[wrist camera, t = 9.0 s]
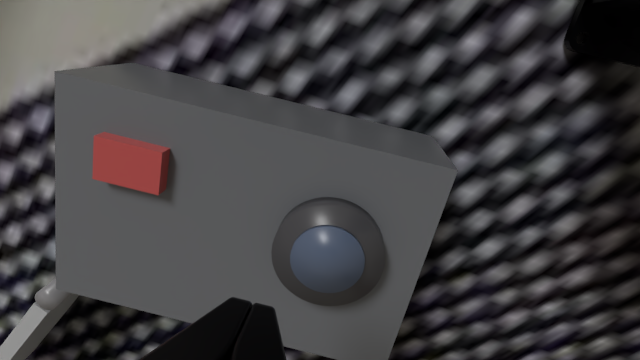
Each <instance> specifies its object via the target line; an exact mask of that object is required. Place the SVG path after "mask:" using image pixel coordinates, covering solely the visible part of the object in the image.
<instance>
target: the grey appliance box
mask: <svg viewBox="0 0 640 360" xmlns="http://www.w3.org/2000/svg"><path fill="white" fill-rule="evenodd" d="M457 172H458V170H457V168H456V167H455V166H454V164H453V163H452V162H451V160H450V159H449V158H448V156H447V155H446V154H445V153H444V151H443V150H442V149H441V147H440V146H439V145H438V143H437V142H436V141H435V139H434V138H433V137H432V136H429V135H425V134H421V133H417V132H413V131H409V130H405V129H401V128H397V127H392V126H388V125H384V124H380V123H376V122H372V121H368V120H364V119H360V118H356V117H352V116H348V115H344V114H339V113H335V112H331V111H327V110H323V109H319V108H315V107H311V106H307V105H303V104H299V103H295V102H290V101H286V100H282V99H278V98H274V97H270V96H266V95H262V94H258V93H254V92H250V91H246V90H242V89H237V88H233V87H229V86H225V85H221V84H217V83H213V82H209V81H205V80H201V79H197V78H193V77H188V76H184V75H180V74H176V73H172V72H168V71H164V70H160V69H156V68H152V67H148V66H144V65H139V64H135V63H127V64H118V65H109V66H99V67H90V68H80V69H71V70H62V71H55V210H56V289H57V290H61V291H65V292H69V293H73V294H77V295H81V296H85V297H89V298H93V299H97V300H101V301H105V302H109V303H113V304H117V305H121V306H125V307H129V308H133V309H137V310H141V311H145V312H149V313H153V314H157V315H161V316H165V317H169V318H173V319H177V320H181V321H185V322H189V323H194V322H195V321H197V320H198V319H200V318H201V317H203V316H204V315H205V314H207V313H208V312H210V311H211V310H213V309H214V308H216V307H217V306H219V305H220V304H221V303H223V302H224V301H226V300H227V299H229V298H231V297H236V298H240V299H244V300H248V301H250V302H251V303H252V305H253V304H254V303H260V304H264V305H268V306H272V307H273V308H274V309H275V311H276V316H277V320H278V325H279V329H280V333H281V338H282V342H283V346H285V347H289V348H293V349H297V350H301V351H305V352H309V353H313V354H316V355H320V356H324V357H328V358H332V359H336V360H388V358H389V356H390V353H391V350H392V347H393V345H394V342H395V339H396V337H397V334H398V331H399V328H400V326H401V323H402V320H403V318H404V315H405V312H406V310H407V307H408V304H409V301H410V299H411V296H412V293H413V291H414V288H415V285H416V282H417V280H418V277H419V274H420V272H421V269H422V266H423V264H424V261H425V258H426V255H427V253H428V250H429V247H430V245H431V242H432V239H433V237H434V234H435V231H436V228H437V226H438V223H439V220H440V218H441V215H442V212H443V209H444V207H445V204H446V201H447V199H448V196H449V193H450V191H451V188H452V185H453V182H454V180H455V177H456V174H457Z"/></svg>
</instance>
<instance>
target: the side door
mask: <svg viewBox="0 0 640 360" xmlns="http://www.w3.org/2000/svg"><path fill="white" fill-rule="evenodd" d="M78 296H79V295H77V294H73V293H69V292H65V291H61V290H57V289H56V278H55V279H53V280H52V281H51V282H50V283H48V284H47V285H46V286H45V287H43V288H42V289H41V290H39V291H38V292H37V293H36V295H35V300H36V302H35V303H34V304H33V305H32V306H31V308H30V309H29V310H28V312H27V313H26V314H25V316H24V317H23V318H22V319H21V321H20V322H19V323H18V325H17V326H16V327H15V328H14V330H13V331H12V332H11V334H10V335H9V336H8V338H7V339H6V340H5V341H4V343H3V344H2V345H1V346H0V360H25V359H26V358H27V357H28V356H29V355H30V354H31V353H32V352H33V351H34V350H35V349H36V347H37V346H38V345H39V344H40V343H41V341H42V340H43V339H44V338H45V337H46V335H47V334H48V333H49V332H50V330H51V329H52V328H53V327H54V326H55V324H56V323H57V322H58V321H59V319H60V318H61V317H62V316H63V315H64V313H65V312H66V311H67V310H68V309H69V307H70V306H71V305H72V304H73V302H74V301H75V300H76V299H77V298H78Z"/></svg>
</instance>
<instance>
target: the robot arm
mask: <svg viewBox="0 0 640 360" xmlns="http://www.w3.org/2000/svg"><path fill="white" fill-rule="evenodd" d="M581 32H582V33H583V34H584V40H583V42H582V43H581V44H577V42H576V37H577V35H578V34H579V33H581ZM564 42H565V46H566V47H567V49H569V50H571V51H574V52H578V53H582V54H586V55H590V56H594V57H598V58H602V59H607V60H611V61H615V62H619V63H623V64H627V65H631V66H635V67H640V0H580V2H579V4H578V6H577V9H576V11H575V14H574V16H573V18H572V21H571V23H570V26H569V28H568V30H567V33H566V35H565V40H564ZM140 360H286V356H285V351H284V347H283V342H282V338H281V333H280V329H279V325H278V320H277V316H276V311H275V309H274V308H273V307H272V306H268V305H264V304H260V303H254V304H253V305H252V303H251V302H250V301H248V300H244V299H240V298H236V297H231V298H229V299H227V300H226V301H224V302H223V303H221V304H220V305H219V306H217V307H216V308H214V309H213V310H211V311H210V312H208V313H207V314H205V315H204V316H203V317H201V318H200V319H198V320H197V321H195V322H194V323H192V324H191V325H189V326H188V327H186V328H185V329H184V330H182V331H181V332H179V333H178V334H176V335H175V336H173V337H172V338H170V339H169V340H168V341H166V342H165V343H163V344H162V345H160V346H159V347H157V348H156V349H154V350H153V351H151V352H150V353H149V354H147V355H146V356H144V357H143V358H141V359H140Z"/></svg>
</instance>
